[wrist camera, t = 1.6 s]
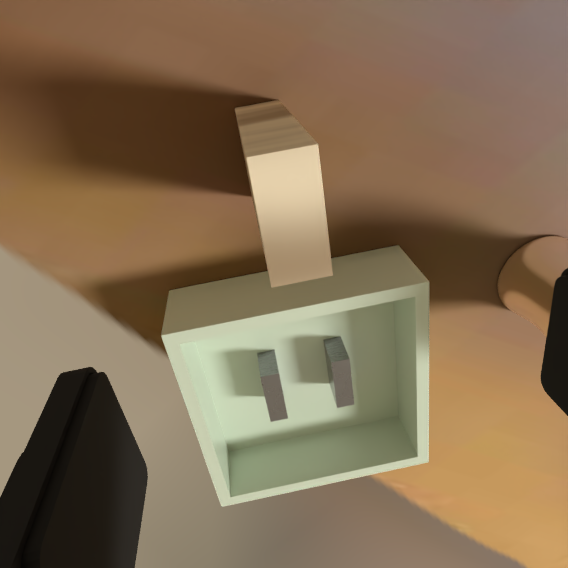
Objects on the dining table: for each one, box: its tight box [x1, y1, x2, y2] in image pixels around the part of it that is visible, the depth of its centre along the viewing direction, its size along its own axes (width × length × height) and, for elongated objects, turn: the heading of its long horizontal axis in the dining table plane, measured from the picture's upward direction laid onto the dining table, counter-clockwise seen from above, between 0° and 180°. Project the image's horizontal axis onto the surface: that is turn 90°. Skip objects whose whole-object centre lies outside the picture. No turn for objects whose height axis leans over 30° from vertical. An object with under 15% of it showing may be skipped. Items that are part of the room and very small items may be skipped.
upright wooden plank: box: [235, 100, 333, 288], centre depth 21 cm, size 5×2×11 cm, turn 9°
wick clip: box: [257, 336, 354, 422], centre depth 31 cm, size 4×6×2 cm
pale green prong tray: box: [161, 245, 429, 507], centre depth 31 cm, size 15×15×5 cm
